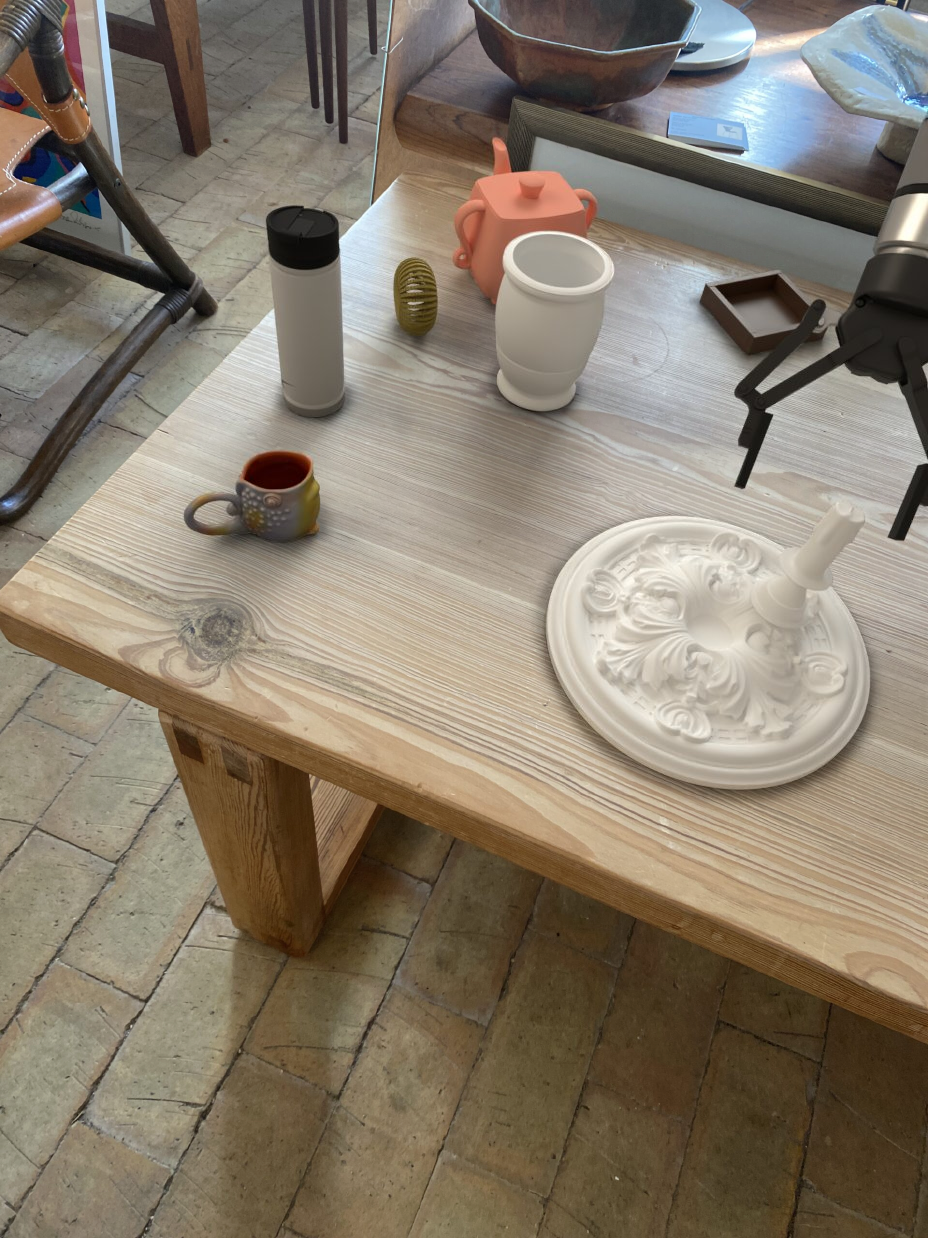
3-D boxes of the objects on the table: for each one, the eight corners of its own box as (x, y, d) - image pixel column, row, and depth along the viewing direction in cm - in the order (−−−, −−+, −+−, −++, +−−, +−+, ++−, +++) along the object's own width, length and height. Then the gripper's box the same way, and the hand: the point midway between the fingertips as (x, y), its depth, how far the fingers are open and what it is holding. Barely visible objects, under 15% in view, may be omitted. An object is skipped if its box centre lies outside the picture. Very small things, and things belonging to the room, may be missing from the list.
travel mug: (272, 412, 92) (251, 227, 76) (295, 372, 96) (280, 188, 79) (332, 426, 91) (323, 243, 75) (352, 385, 95) (348, 202, 79)
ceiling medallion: (751, 493, 90) (762, 470, 88) (933, 726, 76) (953, 707, 73) (494, 563, 82) (498, 540, 80) (644, 838, 68) (654, 821, 65)
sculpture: (389, 307, 103) (391, 242, 97) (424, 305, 104) (428, 240, 98) (402, 352, 99) (404, 287, 92) (438, 349, 100) (443, 285, 93)
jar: (601, 381, 99) (633, 256, 87) (555, 434, 93) (583, 308, 81) (517, 342, 101) (536, 215, 89) (468, 391, 96) (482, 263, 84)
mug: (308, 485, 86) (304, 432, 81) (331, 537, 83) (328, 486, 77) (180, 515, 83) (167, 462, 77) (198, 570, 79) (185, 519, 74)
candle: (783, 638, 76) (865, 540, 67) (736, 595, 78) (809, 494, 69) (818, 614, 79) (900, 517, 70) (772, 573, 81) (846, 473, 72)
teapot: (550, 339, 102) (570, 234, 92) (423, 286, 106) (429, 181, 96) (604, 275, 111) (628, 173, 100) (485, 229, 114) (496, 126, 104)
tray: (822, 339, 107) (831, 321, 104) (747, 355, 103) (754, 337, 101) (772, 287, 112) (779, 268, 110) (699, 301, 109) (705, 282, 107)
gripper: (1053, 321, 76) (949, 559, 80) (762, 237, 80) (676, 468, 84) (1094, 299, 69) (978, 563, 73) (772, 209, 73) (677, 463, 77)
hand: (816, 513), depth 78 cm, fingers open, 13 cm apart
